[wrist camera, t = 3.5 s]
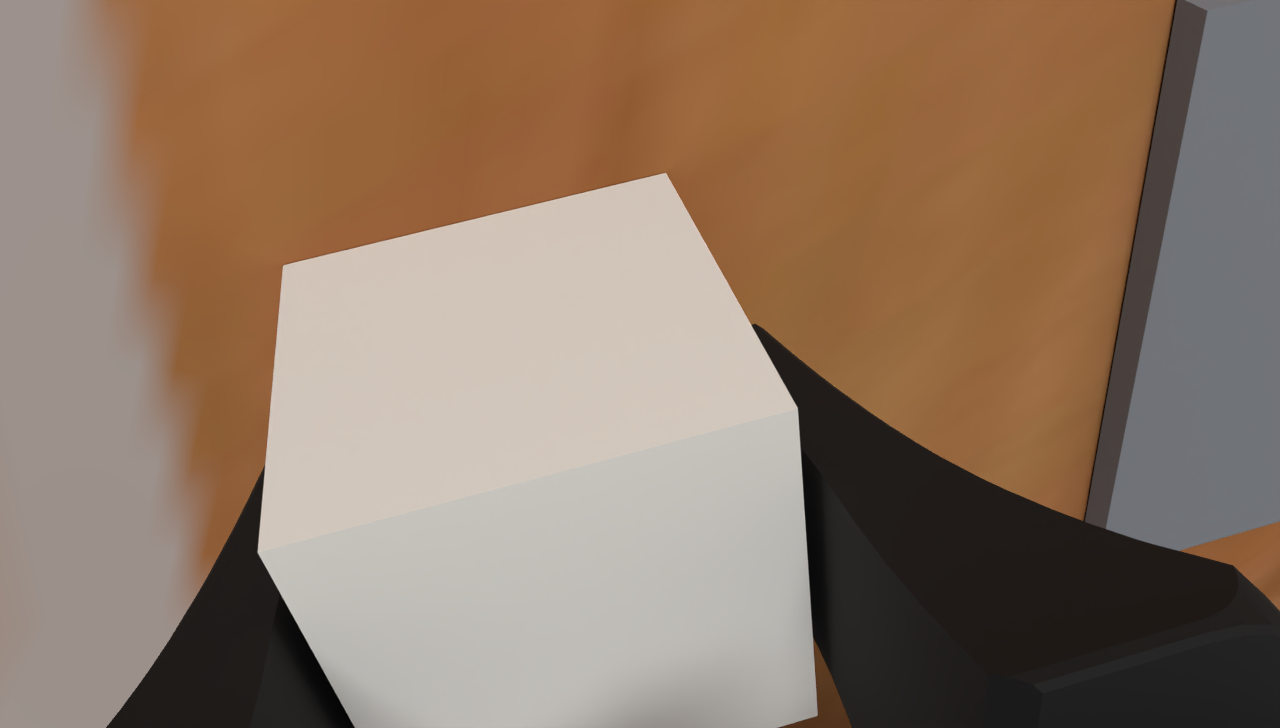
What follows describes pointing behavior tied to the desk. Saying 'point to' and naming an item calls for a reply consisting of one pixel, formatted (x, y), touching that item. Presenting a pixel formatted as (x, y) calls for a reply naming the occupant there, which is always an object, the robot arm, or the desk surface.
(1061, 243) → the desk surface
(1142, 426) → the mat
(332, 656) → the cube
